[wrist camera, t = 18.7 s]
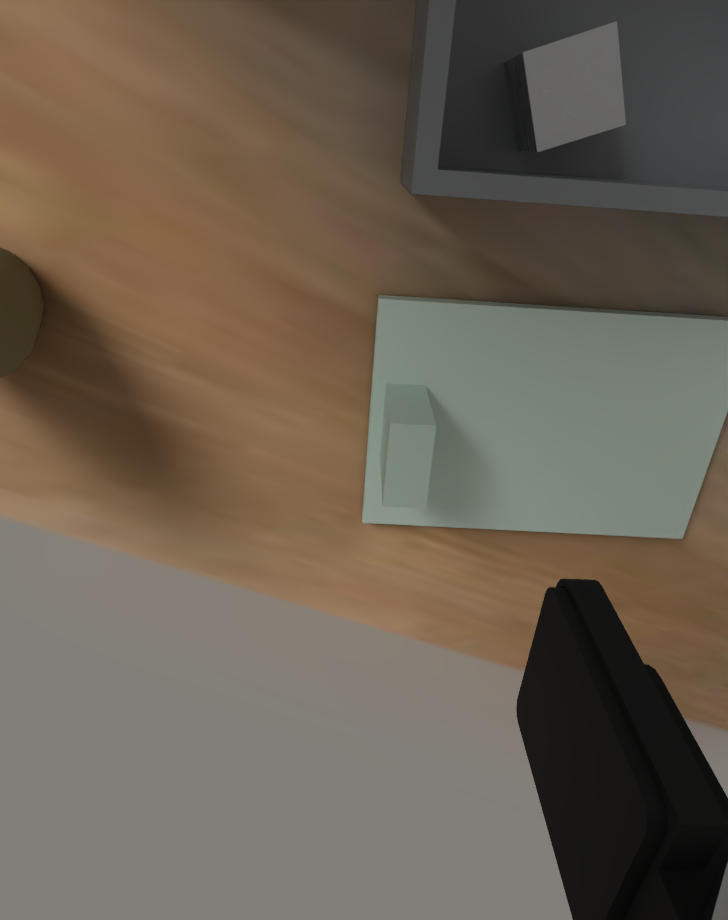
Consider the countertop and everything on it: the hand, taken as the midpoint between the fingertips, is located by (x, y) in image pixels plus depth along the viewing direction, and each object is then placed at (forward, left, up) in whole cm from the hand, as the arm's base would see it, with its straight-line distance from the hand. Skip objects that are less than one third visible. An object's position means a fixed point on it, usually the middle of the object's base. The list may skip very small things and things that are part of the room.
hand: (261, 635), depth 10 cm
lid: (+8, +14, -29) cm, 33 cm away
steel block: (-10, +10, -28) cm, 31 cm away
